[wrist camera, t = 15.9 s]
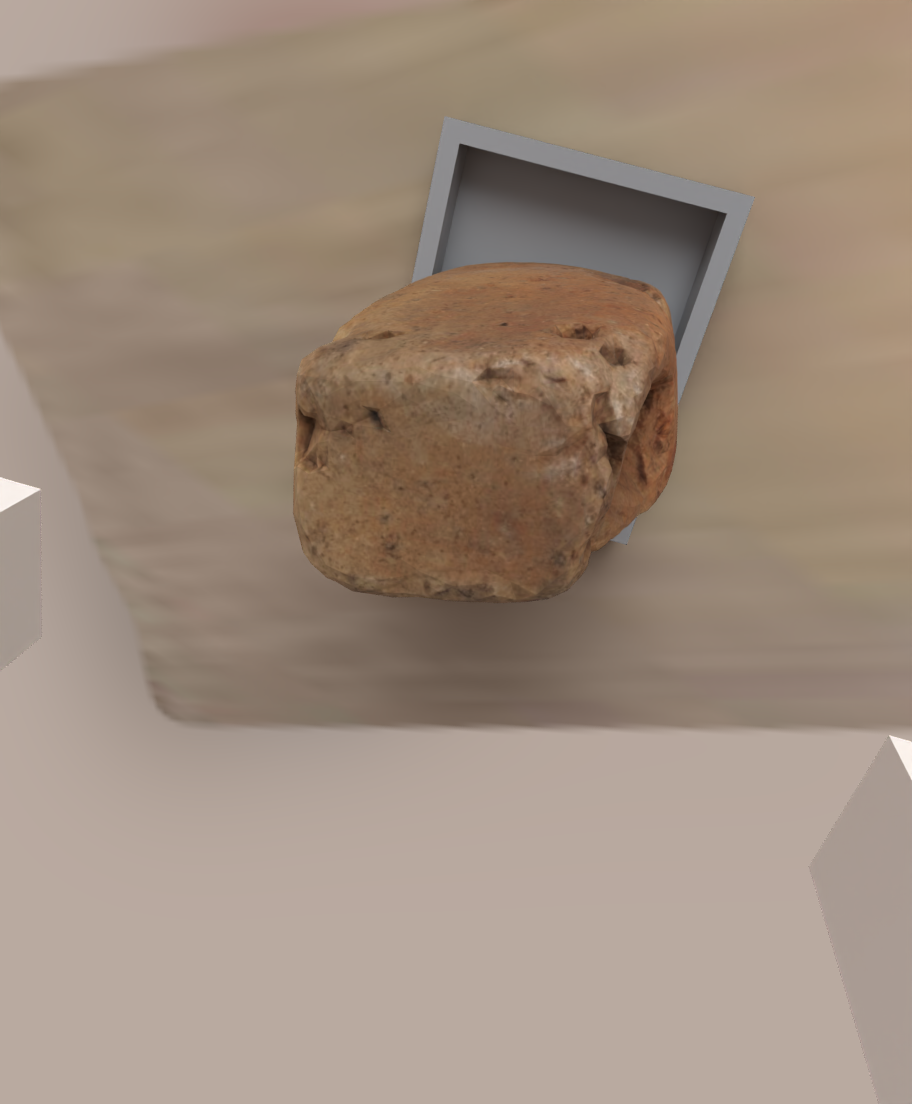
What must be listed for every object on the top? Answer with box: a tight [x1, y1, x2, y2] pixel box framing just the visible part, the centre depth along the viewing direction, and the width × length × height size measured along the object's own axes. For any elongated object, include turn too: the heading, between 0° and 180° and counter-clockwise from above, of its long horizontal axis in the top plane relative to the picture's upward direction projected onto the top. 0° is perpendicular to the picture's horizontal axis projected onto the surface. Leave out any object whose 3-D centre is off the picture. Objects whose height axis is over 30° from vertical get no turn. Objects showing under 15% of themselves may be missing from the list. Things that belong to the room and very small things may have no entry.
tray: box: [412, 116, 755, 545], centre depth 37 cm, size 13×16×3 cm
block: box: [293, 262, 678, 603], centre depth 28 cm, size 11×8×20 cm
